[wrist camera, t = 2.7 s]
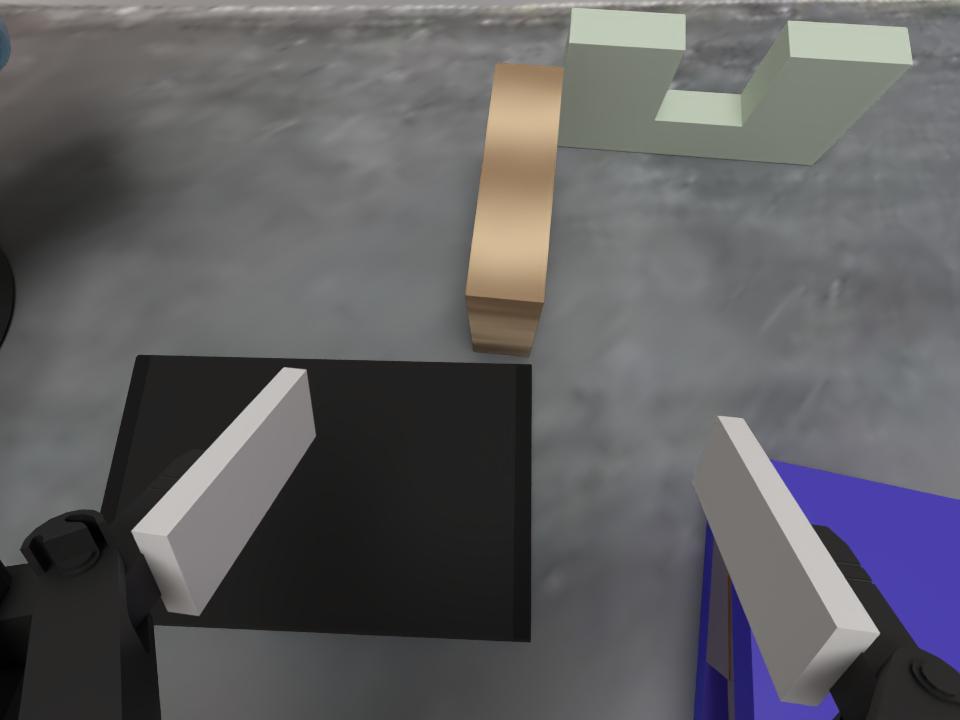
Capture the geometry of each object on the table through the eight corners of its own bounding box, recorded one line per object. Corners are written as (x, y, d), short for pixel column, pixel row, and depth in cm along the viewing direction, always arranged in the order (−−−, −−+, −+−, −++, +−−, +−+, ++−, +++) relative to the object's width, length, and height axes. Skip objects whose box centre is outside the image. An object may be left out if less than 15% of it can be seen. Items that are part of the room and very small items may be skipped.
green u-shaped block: (551, 145, 33) (569, 42, 25) (554, 116, 34) (572, 7, 26) (812, 165, 32) (912, 64, 24) (809, 135, 33) (907, 27, 25)
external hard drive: (171, 366, 30) (137, 353, 27) (528, 375, 29) (532, 363, 26) (120, 608, 27) (74, 623, 24) (527, 626, 26) (532, 644, 23)
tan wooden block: (529, 356, 29) (543, 302, 21) (473, 351, 29) (465, 295, 21) (545, 178, 33) (563, 67, 24) (495, 174, 33) (495, 62, 24)
